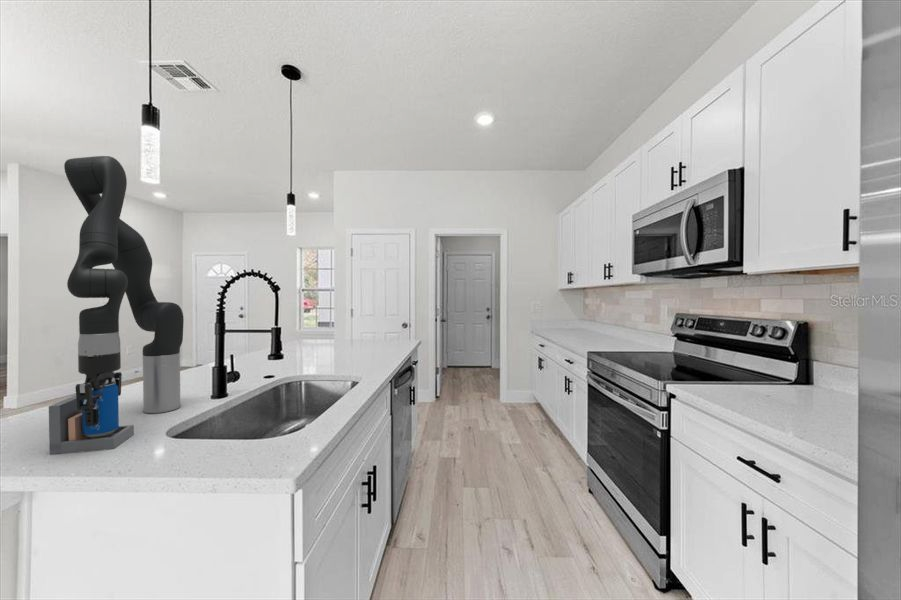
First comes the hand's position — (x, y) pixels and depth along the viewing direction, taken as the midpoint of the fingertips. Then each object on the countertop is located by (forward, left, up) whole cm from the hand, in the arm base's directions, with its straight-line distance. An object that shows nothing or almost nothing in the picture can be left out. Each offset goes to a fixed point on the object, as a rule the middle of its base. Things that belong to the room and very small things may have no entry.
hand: (100, 420), depth 93 cm
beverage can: (0, 0, -3) cm, 3 cm away
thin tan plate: (0, -4, -4) cm, 6 cm away
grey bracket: (0, -1, -6) cm, 6 cm away
